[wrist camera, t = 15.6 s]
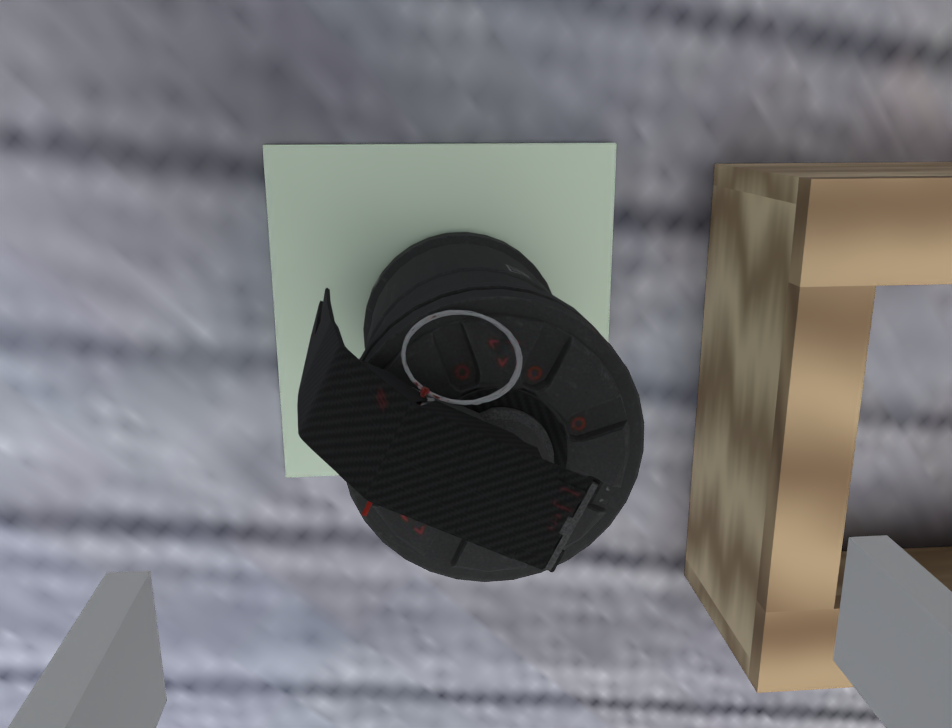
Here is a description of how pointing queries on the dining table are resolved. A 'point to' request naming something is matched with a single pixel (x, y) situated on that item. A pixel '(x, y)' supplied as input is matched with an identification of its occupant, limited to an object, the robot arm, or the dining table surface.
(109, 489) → the dining table surface
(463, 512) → the black shaker bottle
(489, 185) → the board
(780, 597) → the crate
